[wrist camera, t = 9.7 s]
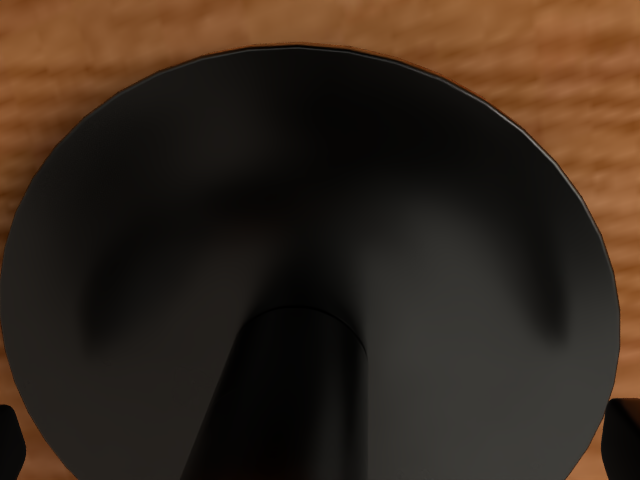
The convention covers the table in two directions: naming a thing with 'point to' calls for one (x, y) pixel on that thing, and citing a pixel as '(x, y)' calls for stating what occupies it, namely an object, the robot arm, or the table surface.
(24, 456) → the robot arm
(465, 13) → the table surface
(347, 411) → the lid
